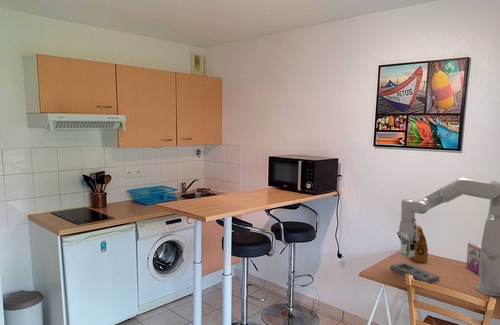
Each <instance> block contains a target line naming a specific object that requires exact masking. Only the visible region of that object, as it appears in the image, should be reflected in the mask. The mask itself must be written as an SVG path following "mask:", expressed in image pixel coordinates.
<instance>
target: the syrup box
mask: <svg viewBox="0 0 500 325" xmlns="http://www.w3.org/2000/svg"><path fill="white" fill-rule="evenodd" d="M410 244H411V241H410V239H409V234H406V233H402V232H401V241H400V256H403V257H405V258H407V259H408V258H412V257H413V256H414V251H415V250H412V251H411V250H410Z"/></svg>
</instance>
